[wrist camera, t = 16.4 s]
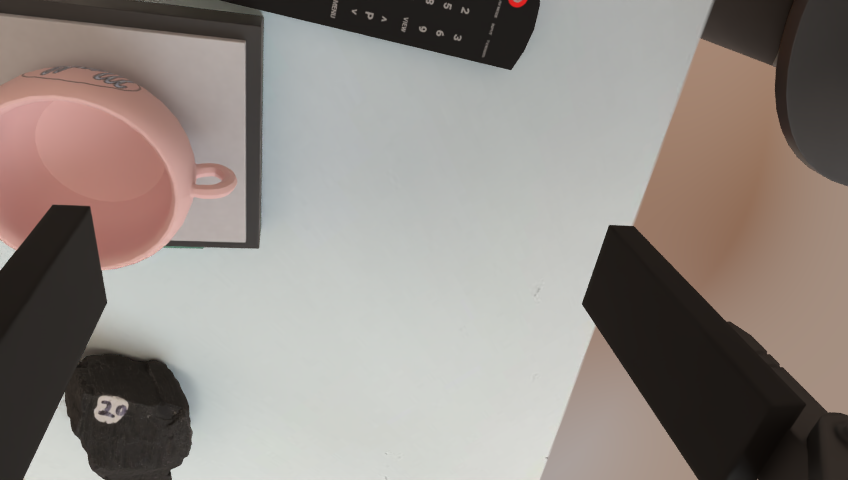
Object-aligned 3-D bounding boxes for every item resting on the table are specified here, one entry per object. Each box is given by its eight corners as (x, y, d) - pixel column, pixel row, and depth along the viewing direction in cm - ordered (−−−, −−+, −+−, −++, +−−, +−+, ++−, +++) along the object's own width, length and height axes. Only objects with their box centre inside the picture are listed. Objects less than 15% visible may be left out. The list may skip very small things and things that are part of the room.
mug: (15, 211, 32) (-34, 271, 28) (-12, 32, 28) (-78, 65, 23) (237, 230, 36) (228, 286, 31) (247, 72, 31) (238, 109, 26)
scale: (263, 16, 33) (261, 28, 30) (260, 233, 40) (258, 260, 37) (-20, -19, 29) (-53, -8, 27) (33, 226, 37) (11, 255, 34)
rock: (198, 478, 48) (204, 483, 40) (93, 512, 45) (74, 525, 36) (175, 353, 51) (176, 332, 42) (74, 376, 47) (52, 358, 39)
